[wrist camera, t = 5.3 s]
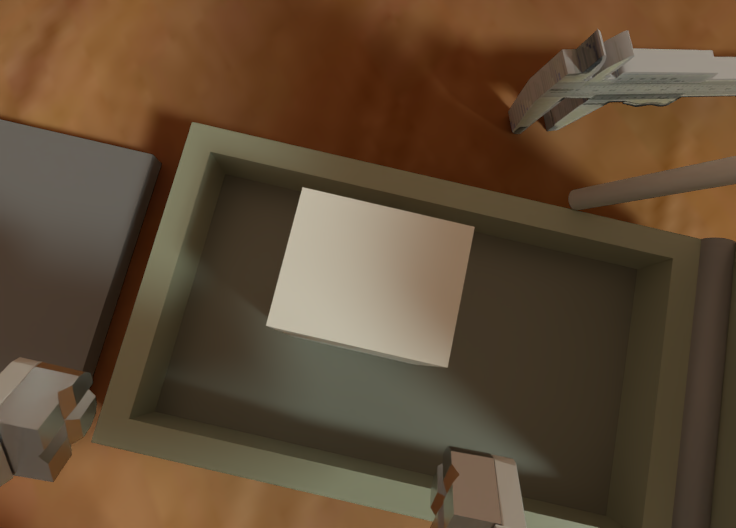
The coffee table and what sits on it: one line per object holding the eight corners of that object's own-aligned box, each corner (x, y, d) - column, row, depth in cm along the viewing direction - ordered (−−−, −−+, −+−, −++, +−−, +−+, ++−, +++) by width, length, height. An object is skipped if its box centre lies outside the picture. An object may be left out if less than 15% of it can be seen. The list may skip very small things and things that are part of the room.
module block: (413, 364, 20) (447, 367, 14) (293, 336, 20) (265, 325, 14) (433, 265, 21) (475, 221, 14) (317, 239, 21) (303, 182, 14)
